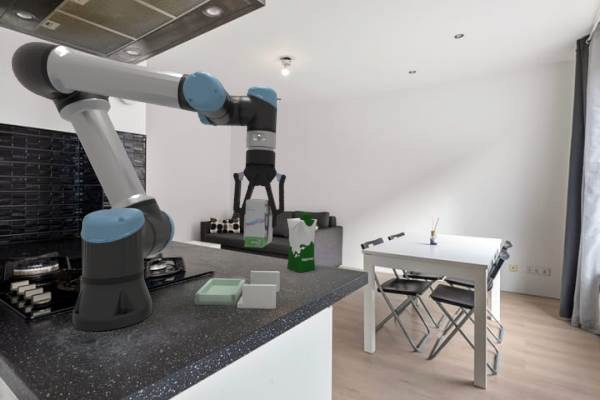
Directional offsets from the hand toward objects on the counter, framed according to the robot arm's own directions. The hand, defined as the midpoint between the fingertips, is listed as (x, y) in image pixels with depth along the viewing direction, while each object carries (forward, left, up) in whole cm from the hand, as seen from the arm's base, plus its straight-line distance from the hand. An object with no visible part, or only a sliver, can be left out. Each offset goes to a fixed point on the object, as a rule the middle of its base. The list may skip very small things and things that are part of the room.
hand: (258, 239), depth 83 cm
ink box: (0, 0, -2) cm, 2 cm away
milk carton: (+11, +31, -16) cm, 36 cm away
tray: (-10, +2, -15) cm, 18 cm away
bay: (+1, 0, -15) cm, 16 cm away
